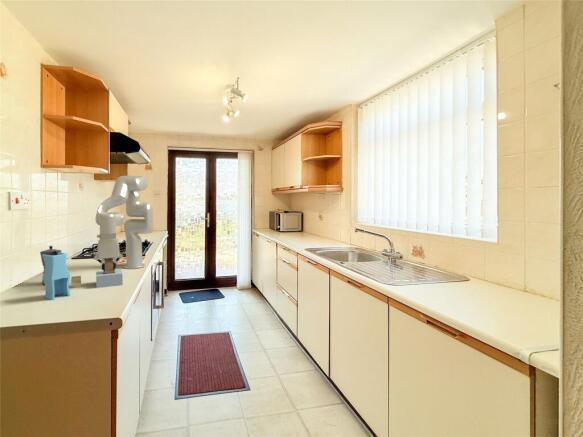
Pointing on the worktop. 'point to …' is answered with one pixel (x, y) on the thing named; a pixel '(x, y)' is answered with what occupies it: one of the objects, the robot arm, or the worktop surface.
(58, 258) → the blue hollow-base tower
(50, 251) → the moka pot
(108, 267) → the walnut peg long
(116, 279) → the socket block
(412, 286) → the worktop surface
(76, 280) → the oak peg short
